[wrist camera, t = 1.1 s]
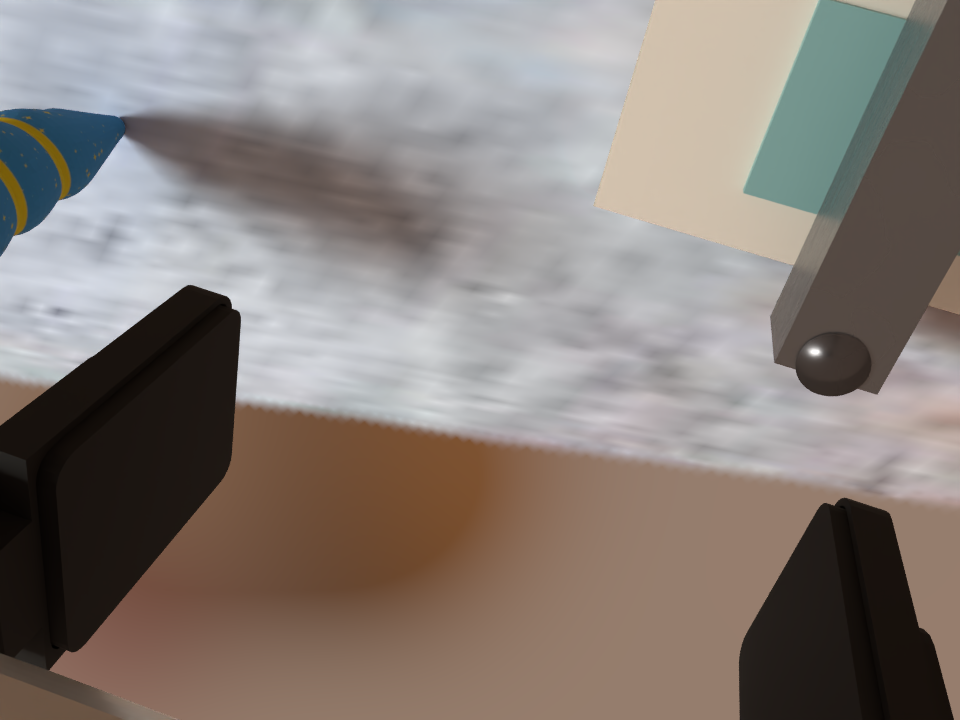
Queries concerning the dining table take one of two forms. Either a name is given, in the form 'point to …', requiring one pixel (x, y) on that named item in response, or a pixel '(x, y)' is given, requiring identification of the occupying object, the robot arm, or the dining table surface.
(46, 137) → the ornament
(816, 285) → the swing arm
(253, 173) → the dining table surface
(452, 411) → the dining table surface
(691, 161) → the label board
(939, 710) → the robot arm
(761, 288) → the dining table surface
